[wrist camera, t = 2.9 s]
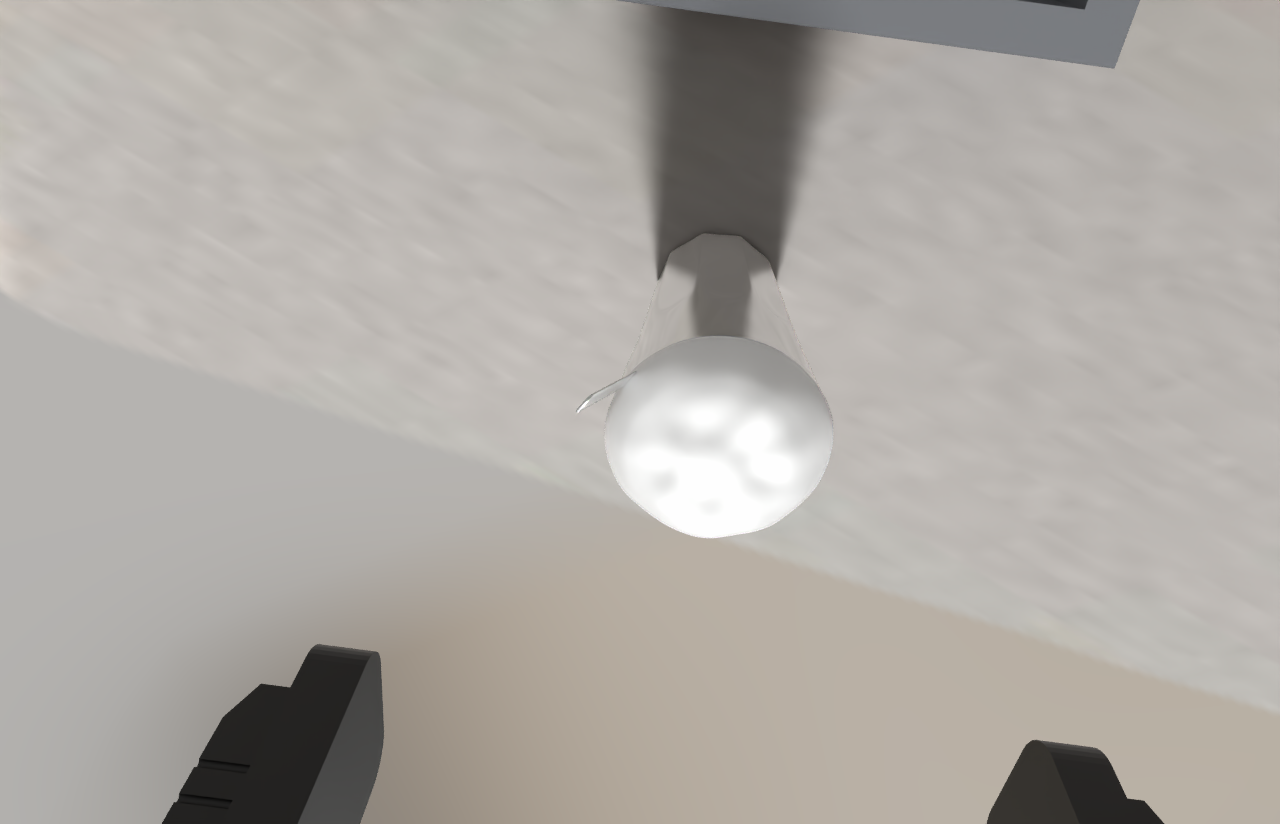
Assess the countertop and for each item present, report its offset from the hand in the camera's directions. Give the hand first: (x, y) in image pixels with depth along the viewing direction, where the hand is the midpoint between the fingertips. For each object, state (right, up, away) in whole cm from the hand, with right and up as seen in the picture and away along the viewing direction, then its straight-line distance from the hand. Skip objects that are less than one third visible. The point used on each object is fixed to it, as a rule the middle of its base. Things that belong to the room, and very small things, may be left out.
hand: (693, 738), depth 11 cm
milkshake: (+1, +8, +14) cm, 16 cm away
